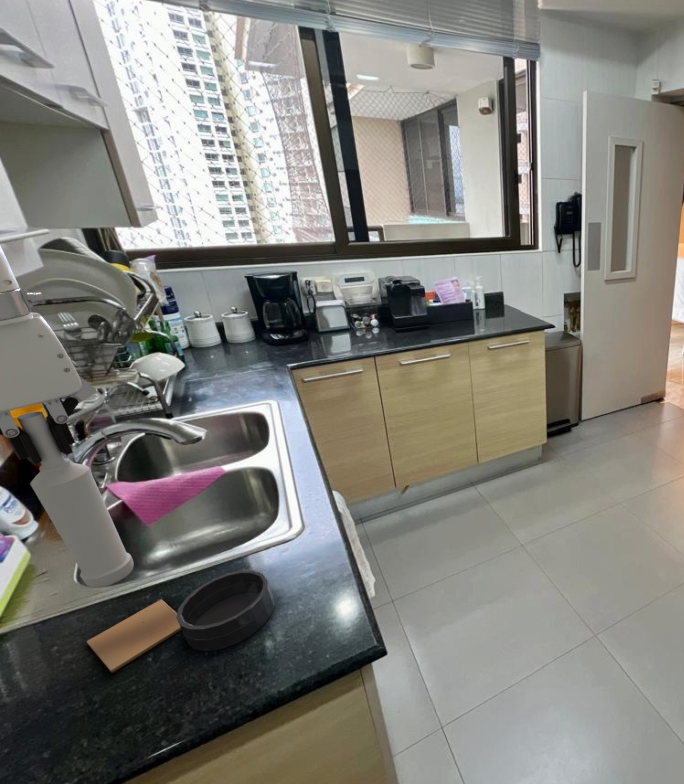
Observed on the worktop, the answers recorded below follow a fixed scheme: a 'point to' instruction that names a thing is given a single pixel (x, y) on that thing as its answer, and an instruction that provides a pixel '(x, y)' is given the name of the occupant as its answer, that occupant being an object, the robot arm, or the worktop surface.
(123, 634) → the cork mat
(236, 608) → the dark grey round tray
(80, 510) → the bottle
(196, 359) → the worktop surface
